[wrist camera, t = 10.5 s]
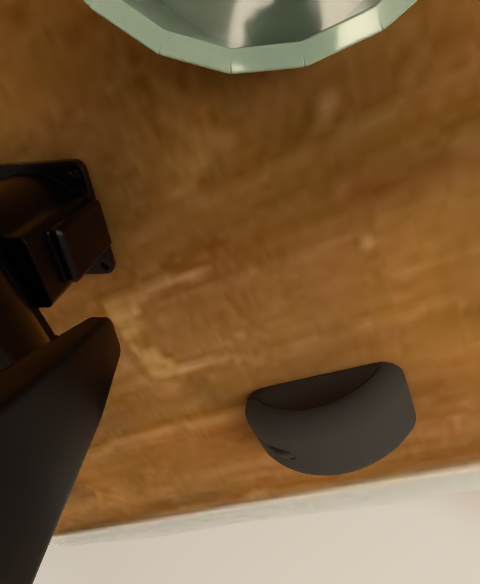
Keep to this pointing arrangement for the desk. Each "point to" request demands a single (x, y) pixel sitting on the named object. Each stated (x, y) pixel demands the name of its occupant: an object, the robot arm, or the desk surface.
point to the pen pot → (250, 29)
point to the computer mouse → (334, 419)
